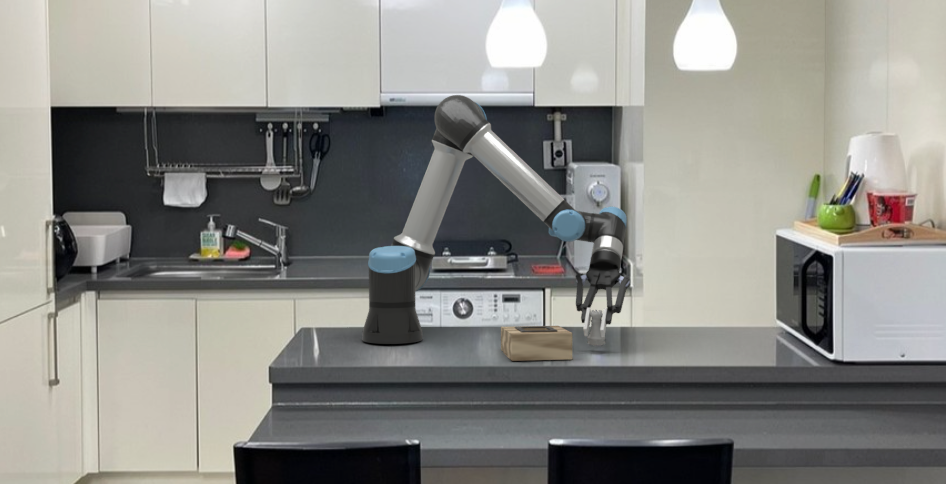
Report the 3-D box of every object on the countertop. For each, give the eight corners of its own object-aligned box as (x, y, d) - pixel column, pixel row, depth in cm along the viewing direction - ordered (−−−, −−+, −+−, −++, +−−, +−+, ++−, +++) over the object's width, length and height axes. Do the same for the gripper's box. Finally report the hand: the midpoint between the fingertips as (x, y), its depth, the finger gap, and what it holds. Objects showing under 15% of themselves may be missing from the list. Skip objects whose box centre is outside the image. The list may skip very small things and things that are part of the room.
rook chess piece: (605, 346, 226) (605, 312, 225) (586, 345, 226) (586, 311, 226) (606, 342, 230) (606, 309, 229) (587, 341, 231) (587, 308, 230)
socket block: (500, 351, 231) (500, 325, 231) (557, 350, 233) (557, 324, 233) (511, 360, 217) (511, 332, 217) (572, 359, 219) (572, 331, 219)
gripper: (640, 269, 240) (630, 344, 225) (575, 267, 245) (561, 341, 229) (638, 249, 235) (627, 324, 219) (572, 247, 239) (557, 321, 224)
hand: (593, 333), depth 224 cm, fingers closed on rook chess piece, 3 cm apart
